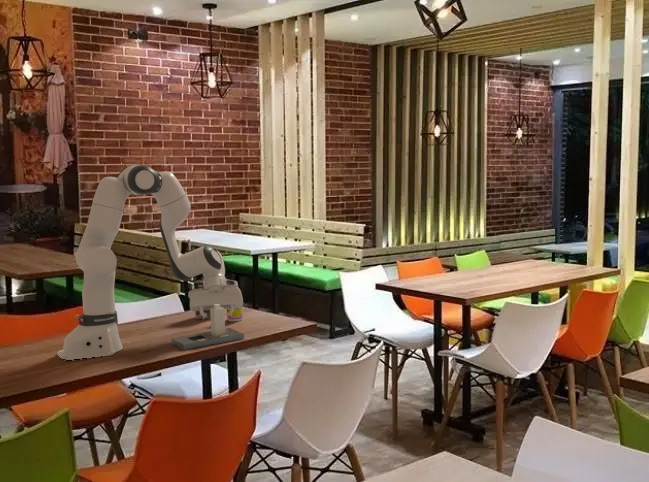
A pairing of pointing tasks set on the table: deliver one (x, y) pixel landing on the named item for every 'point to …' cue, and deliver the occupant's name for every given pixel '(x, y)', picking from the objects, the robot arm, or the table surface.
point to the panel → (206, 339)
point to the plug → (217, 320)
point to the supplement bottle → (235, 315)
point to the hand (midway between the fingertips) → (217, 317)
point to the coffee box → (198, 285)
